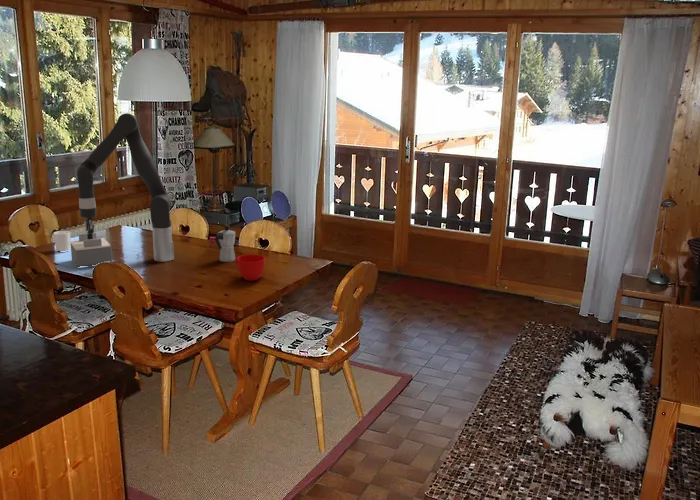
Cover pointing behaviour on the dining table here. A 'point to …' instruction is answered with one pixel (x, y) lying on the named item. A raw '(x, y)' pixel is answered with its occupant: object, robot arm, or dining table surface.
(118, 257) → the dining table surface
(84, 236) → the far panel
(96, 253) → the box
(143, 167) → the robot arm
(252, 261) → the ceramic cup
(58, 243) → the white cup
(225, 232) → the coffee maker
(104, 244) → the near panel
